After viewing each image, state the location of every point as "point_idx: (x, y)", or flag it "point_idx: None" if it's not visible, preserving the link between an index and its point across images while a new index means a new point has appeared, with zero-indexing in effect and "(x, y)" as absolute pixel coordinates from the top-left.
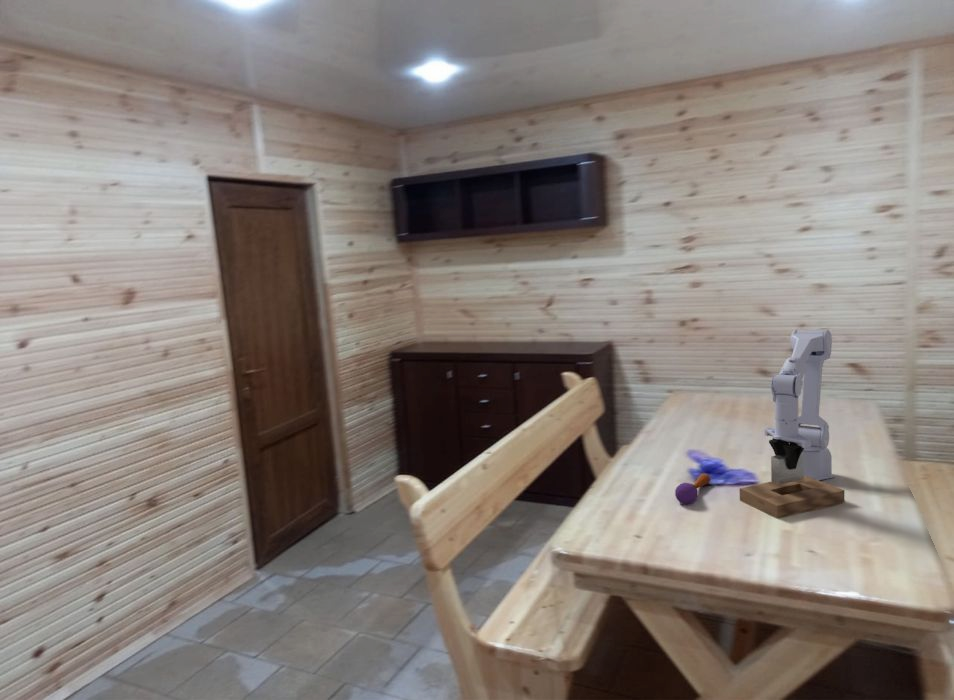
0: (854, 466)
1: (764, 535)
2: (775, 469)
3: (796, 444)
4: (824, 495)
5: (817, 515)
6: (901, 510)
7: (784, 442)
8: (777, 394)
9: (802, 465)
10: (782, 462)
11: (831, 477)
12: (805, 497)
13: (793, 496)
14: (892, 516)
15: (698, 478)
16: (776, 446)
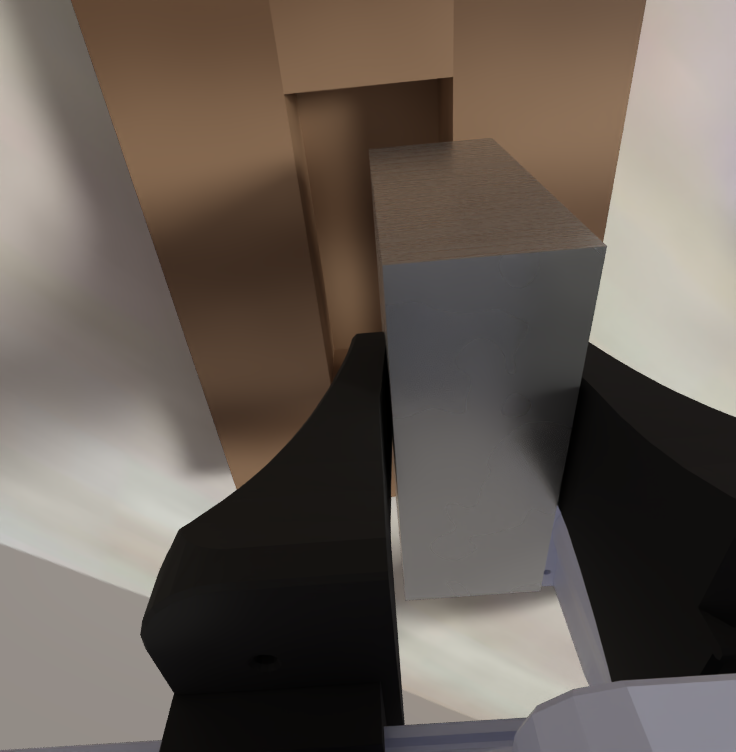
0: (576, 669)
1: None
2: (452, 188)
3: (163, 747)
4: (204, 385)
5: (109, 223)
6: (119, 562)
7: (647, 662)
8: None
9: (395, 488)
10: (383, 300)
11: None
12: (185, 248)
13: (228, 173)
14: (56, 509)
15: None
16: (674, 486)
